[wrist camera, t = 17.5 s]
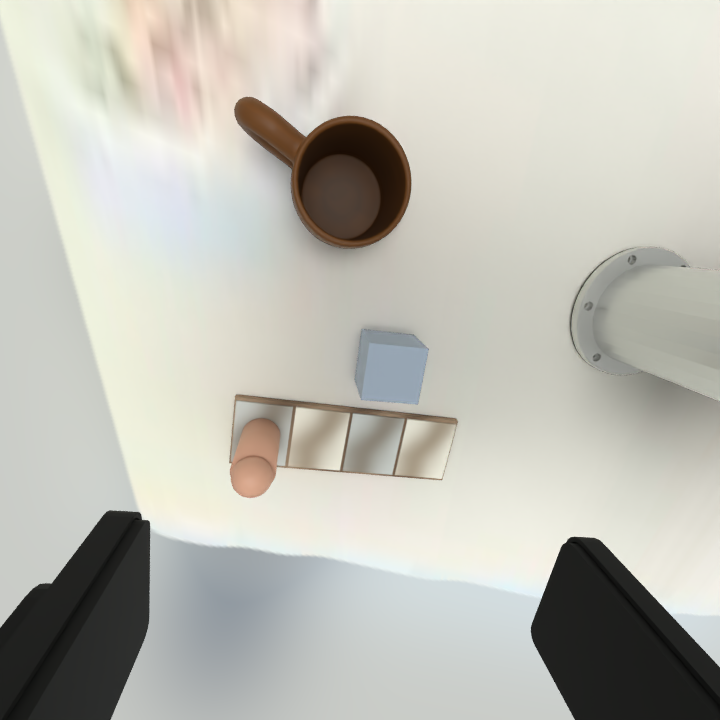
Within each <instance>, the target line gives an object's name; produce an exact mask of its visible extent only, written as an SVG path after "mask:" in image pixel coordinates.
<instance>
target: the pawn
mask: <svg viewBox="0 0 720 720" xmlns="http://www.w3.org/2000/svg"><path fill="white" fill-rule="evenodd" d="M279 444H280V430H279V428H278V426H277V425H276V424H275V423H274V422H272V421H271V420H268V419H264V418H258V419H254V420H251V421H250V422H248V423H247V424H246V425H245V426H244V428H243V430H242V434H241V437H240V440H239V443H238V446H237V449H236V452H235V455H234V459H233V462H232V465H231V468H230V475H231V483H232V486H233V488H234V490H235V491H236V492H237V493H238V494H239V495H241V496H243V497H247V498H254V497H257V496H260V495H262V494H263V493H264V492H266V491H267V489H268V488H269V487H270V485H271V483H272V482H273V480H274V478H275V475H276V468H277V460H278V452H279Z"/></svg>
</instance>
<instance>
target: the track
mask: <svg viewBox="0 0 720 720" xmlns="http://www.w3.org/2000/svg"><path fill="white" fill-rule="evenodd" d="M258 418H264V419H268V420H271V421H272V422H274V423H275V424H276V425H277V426H278V428H279V430H280V444H279V452H278V460H277V467H284V468H297V469H309V470H321V471H334V472H346V473H358V474H371V475H383V476H395V477H408V478H420V479H432V480H442V479H443V475H444V471H445V468H446V464H447V460H448V456H449V453H450V449H451V445H452V442H453V438H454V434H455V430H456V427H457V423H458V421H457V420H456V419H454V418H445V417H436V416H427V415H418V414H408V413H399V412H390V411H381V410H372V409H363V408H354V407H345V406H336V405H326V404H317V403H308V402H299V401H290V400H281V399H272V398H263V397H254V396H244V395H236V396H235V404H234V415H233V427H232V438H231V449H230V461H229V463H232V462H233V459H234V455H235V452H236V449H237V446H238V443H239V440H240V437H241V434H242V430H243V428H244V426H245V425H246V424H247V423H248V422H250V421H251V420H254V419H258Z"/></svg>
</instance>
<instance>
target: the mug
mask: <svg viewBox="0 0 720 720" xmlns="http://www.w3.org/2000/svg"><path fill="white" fill-rule="evenodd" d="M234 111H235V117H236V120H237V122H238V124H239V125H240V126H241V127H242V128H243V130H244V131H245V132H246V133H247V134H248V135H250V136H251V137H252V138H253V139H254V140H255V141H256V142H258V143H259V144H260V145H261V146H262V147H264V148H265V149H266V150H268V151H269V152H270V153H272V154H273V155H274V156H276V157H277V158H278V159H280V160H281V161H282V162H284V163H285V164H286V165H288V166H289V167H290V168H291V169H292V174H291V193H292V199H293V203H294V206H295V209H296V211H297V214H298V216H299V218H300V219H301V221H302V223H303V224H304V225H305V227H306V228H307V229H308V230H309V231H310V232H311V233H312V234H313V235H314V236H315V237H316V238H318V239H319V240H321V241H323V242H325V243H327V244H329V245H332V246H335V247H339V248H346V249H354V248H361V247H365V246H368V245H371V244H373V243H375V242H377V241H379V240H381V239H382V238H384V237H385V236H387V235H388V234H389V233H390V232H391V231H392V230H393V229H394V228H395V227H396V226H397V224H398V223H399V222H400V220H401V219H402V217H403V215H404V213H405V211H406V208H407V206H408V203H409V199H410V193H411V172H410V167H409V163H408V160H407V157H406V155H405V152H404V150H403V148H402V147H401V145H400V144H399V142H398V141H397V139H396V138H395V137H394V136H393V135H392V134H391V133H390V132H389V131H388V130H387V129H386V128H384V127H383V126H382V125H380V124H378V123H376V122H374V121H372V120H370V119H367V118H364V117H358V116H342V117H337V118H334V119H331V120H328V121H326V122H324V123H323V124H321V125H319V126H318V127H317V128H315V129H314V130H313V131H312V132H311V133H310V134H309V135H308V136H307V137H305V136H304V135H302V134H301V133H300V132H299V131H298V130H297V129H295V128H294V127H293V126H292V125H291V124H290V123H288V122H287V121H286V120H285V119H284V118H283V117H282V116H280V115H279V114H278V113H277V112H275V111H274V110H273V109H271V108H270V107H268V106H267V105H265V104H264V103H262V102H261V101H259V100H257V99H255V98H253V97H244V98H242V99H240V100H239V101H238V102H237V103H236V106H235V109H234Z"/></svg>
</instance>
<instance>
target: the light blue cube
mask: <svg viewBox="0 0 720 720" xmlns="http://www.w3.org/2000/svg"><path fill="white" fill-rule="evenodd" d="M428 350H429V349H428V348H427V347H426V346H425V345H424V344H423V343H422V342H421V341H420V340H419V339H418V338H416V337H415V336H414V335H411V334H402V333H392V332H383V331H374V330H365V329H362V331H361V338H360V346H359V353H358V360H357V367H356V374H355V382H356V385H357V388H358V392H359V395H360V398H361V400H369V401H382V402H394V403H407V404H418V401H419V396H420V391H421V386H422V381H423V376H424V370H425V365H426V360H427V355H428Z"/></svg>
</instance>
